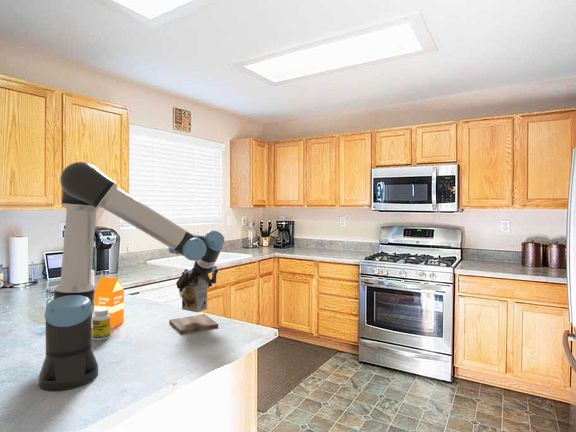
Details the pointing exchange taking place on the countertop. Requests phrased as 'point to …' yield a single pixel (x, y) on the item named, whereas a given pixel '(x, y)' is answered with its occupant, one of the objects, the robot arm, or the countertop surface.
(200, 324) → the walnut board
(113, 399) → the countertop surface
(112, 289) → the orange juice
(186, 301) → the coffee box
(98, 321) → the pill bottle
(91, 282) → the mug
